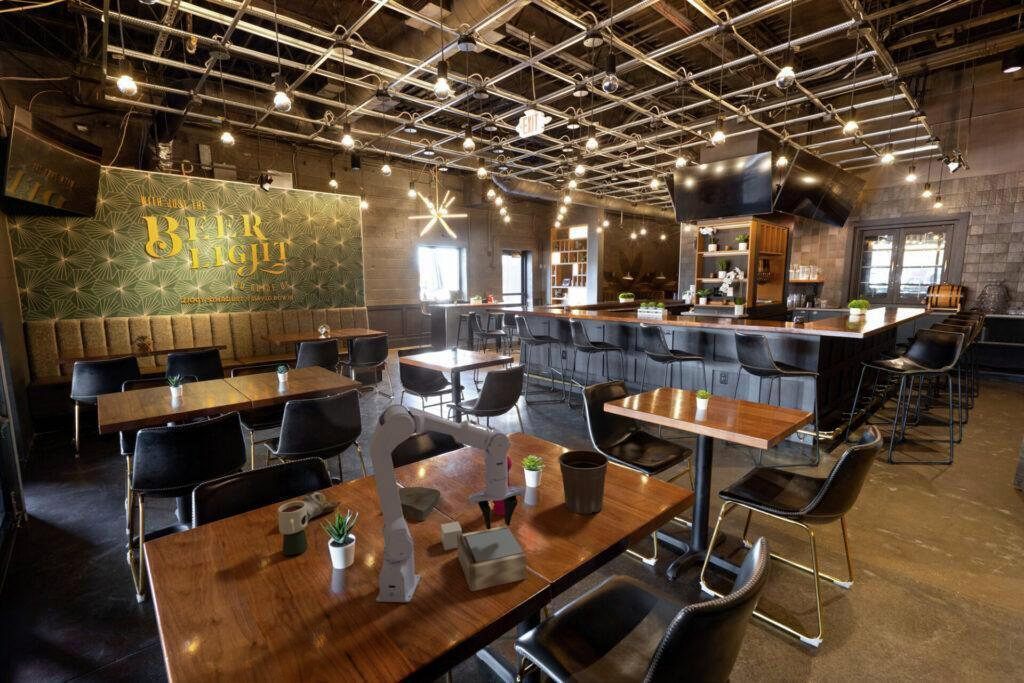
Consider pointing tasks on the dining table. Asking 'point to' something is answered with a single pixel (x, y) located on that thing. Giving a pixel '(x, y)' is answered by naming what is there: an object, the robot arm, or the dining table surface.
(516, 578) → the frame
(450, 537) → the pale grey cube
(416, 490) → the dark grey rock slab
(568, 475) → the plant pot
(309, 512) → the ceramic sculpture
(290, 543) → the character mug
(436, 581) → the dining table surface
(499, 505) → the pepper mill
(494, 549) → the trapdoor flap
